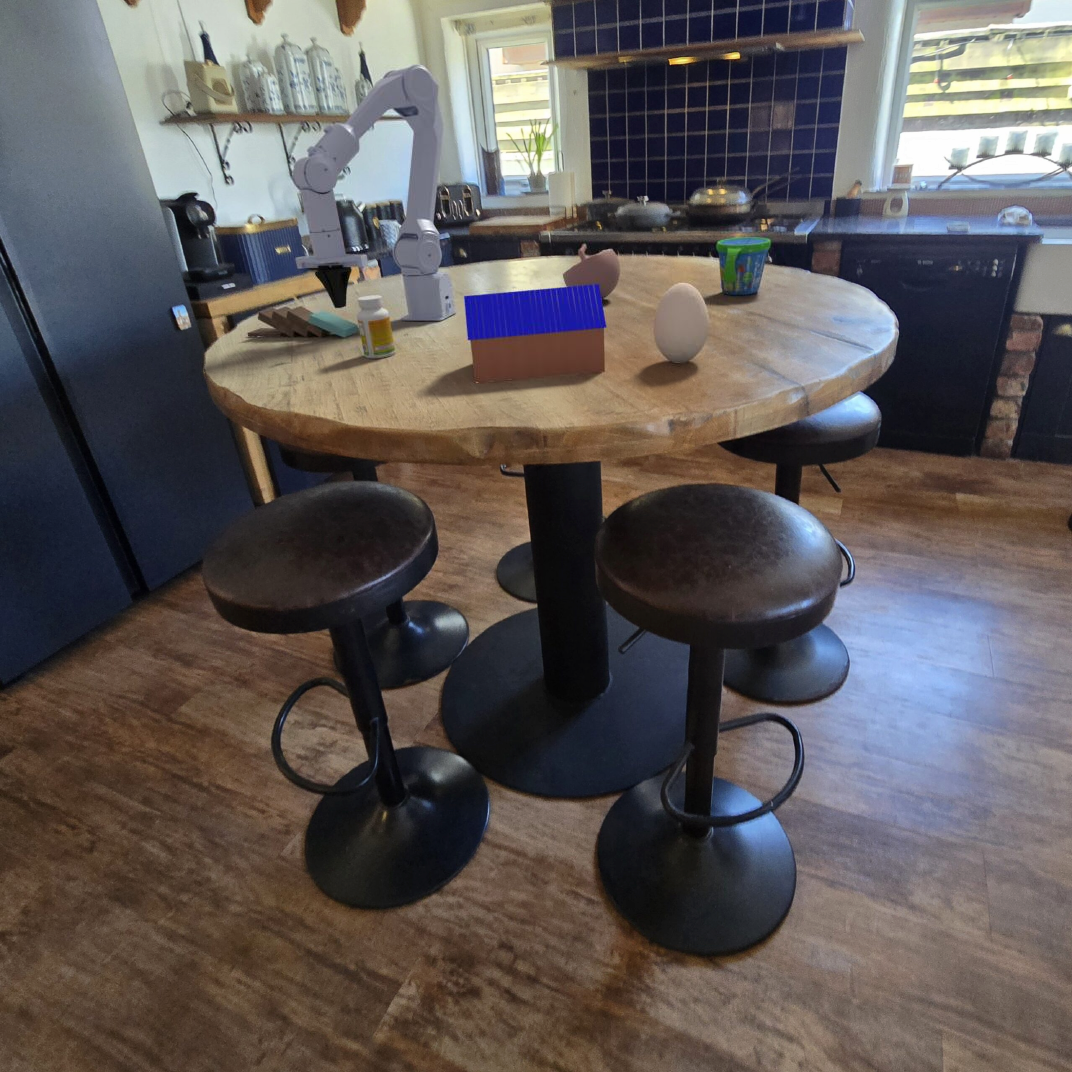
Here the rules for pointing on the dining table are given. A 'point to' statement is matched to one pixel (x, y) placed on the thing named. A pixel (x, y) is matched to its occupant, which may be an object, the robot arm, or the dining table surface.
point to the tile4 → (275, 322)
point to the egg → (681, 323)
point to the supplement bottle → (375, 328)
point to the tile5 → (266, 332)
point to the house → (536, 333)
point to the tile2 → (305, 320)
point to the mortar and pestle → (595, 271)
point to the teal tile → (333, 324)
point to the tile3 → (289, 321)
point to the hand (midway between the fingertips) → (340, 307)
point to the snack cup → (742, 264)
